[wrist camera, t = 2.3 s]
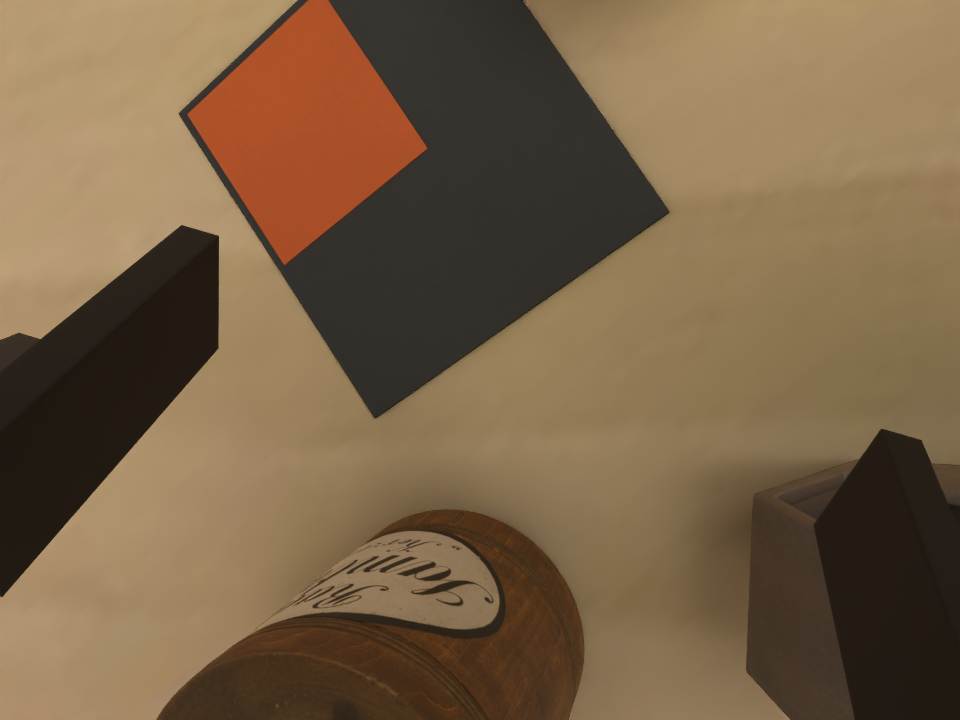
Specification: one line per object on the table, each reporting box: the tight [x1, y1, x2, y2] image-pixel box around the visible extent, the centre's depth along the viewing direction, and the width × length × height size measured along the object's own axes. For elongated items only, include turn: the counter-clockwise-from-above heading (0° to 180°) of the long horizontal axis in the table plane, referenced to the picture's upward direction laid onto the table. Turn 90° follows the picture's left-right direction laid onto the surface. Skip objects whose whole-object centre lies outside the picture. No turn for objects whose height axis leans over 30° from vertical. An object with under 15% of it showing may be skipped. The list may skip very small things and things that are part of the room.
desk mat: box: [179, 0, 669, 418], centre depth 43 cm, size 20×22×1 cm
